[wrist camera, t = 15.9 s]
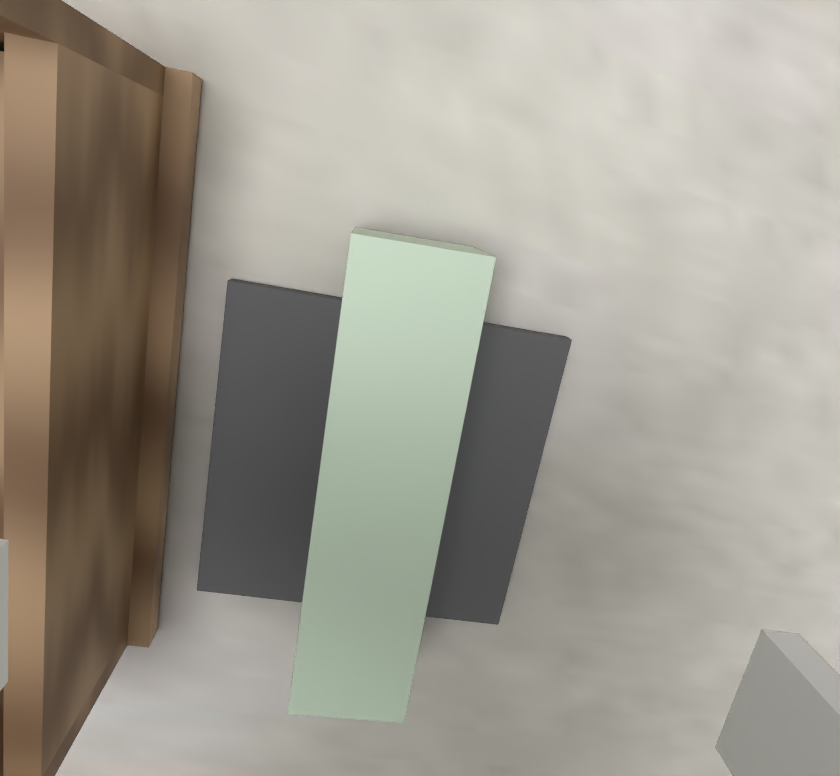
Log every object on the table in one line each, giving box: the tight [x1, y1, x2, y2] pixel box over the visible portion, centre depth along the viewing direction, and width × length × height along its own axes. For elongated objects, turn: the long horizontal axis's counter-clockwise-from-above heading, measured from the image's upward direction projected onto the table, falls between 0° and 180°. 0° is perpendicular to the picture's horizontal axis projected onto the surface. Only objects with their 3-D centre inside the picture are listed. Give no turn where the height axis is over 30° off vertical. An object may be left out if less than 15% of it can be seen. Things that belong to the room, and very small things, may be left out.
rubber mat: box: [197, 279, 571, 624], centre depth 23 cm, size 12×12×1 cm
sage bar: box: [287, 227, 496, 723], centre depth 21 cm, size 16×4×4 cm, turn 171°
